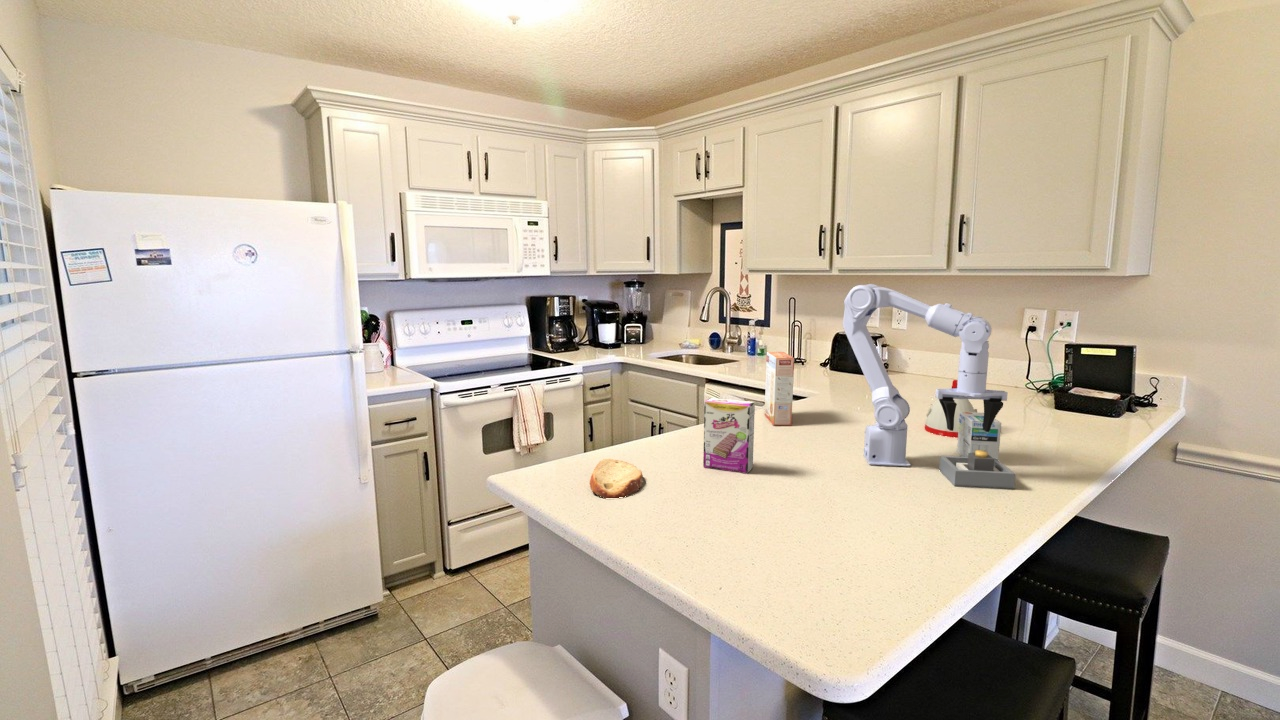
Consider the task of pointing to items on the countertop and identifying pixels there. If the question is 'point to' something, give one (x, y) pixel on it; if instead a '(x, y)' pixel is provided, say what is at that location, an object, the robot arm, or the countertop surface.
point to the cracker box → (779, 388)
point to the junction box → (976, 474)
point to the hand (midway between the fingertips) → (968, 430)
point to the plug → (980, 461)
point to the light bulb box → (977, 435)
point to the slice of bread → (615, 479)
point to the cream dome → (938, 420)
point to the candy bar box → (728, 434)
